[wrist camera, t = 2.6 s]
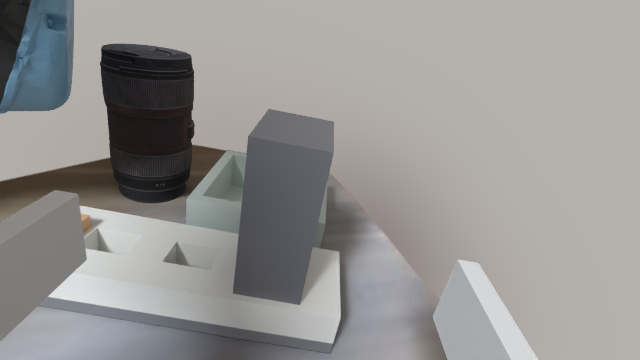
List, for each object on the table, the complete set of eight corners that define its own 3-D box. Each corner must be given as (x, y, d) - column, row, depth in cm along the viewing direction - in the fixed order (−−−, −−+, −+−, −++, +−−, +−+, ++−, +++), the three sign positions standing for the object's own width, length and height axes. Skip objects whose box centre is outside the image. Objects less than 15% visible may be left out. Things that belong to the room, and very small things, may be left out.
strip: (7, 300, 22) (-8, 247, 21) (79, 239, 29) (72, 193, 27) (330, 353, 23) (344, 306, 22) (331, 283, 30) (341, 242, 28)
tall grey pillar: (230, 318, 23) (248, 136, 17) (250, 262, 29) (268, 109, 23) (294, 329, 23) (333, 152, 18) (302, 271, 29) (333, 121, 23)
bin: (185, 246, 31) (186, 198, 28) (224, 187, 41) (227, 149, 39) (315, 269, 31) (325, 224, 29) (320, 205, 42) (328, 168, 40)
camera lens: (147, 166, 43) (142, 40, 36) (204, 184, 41) (210, 57, 35) (92, 192, 35) (75, 41, 29) (160, 214, 34) (157, 61, 28)
